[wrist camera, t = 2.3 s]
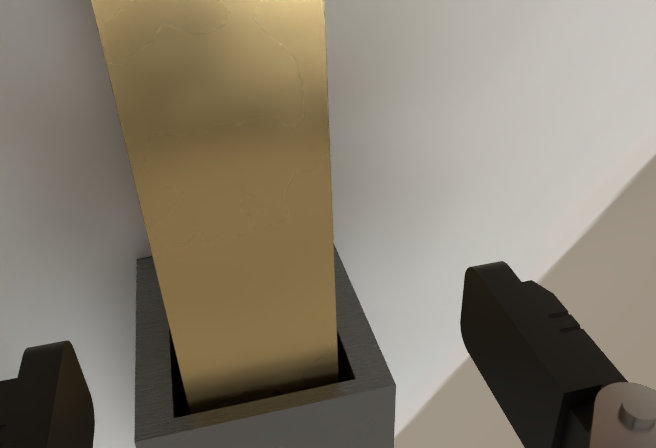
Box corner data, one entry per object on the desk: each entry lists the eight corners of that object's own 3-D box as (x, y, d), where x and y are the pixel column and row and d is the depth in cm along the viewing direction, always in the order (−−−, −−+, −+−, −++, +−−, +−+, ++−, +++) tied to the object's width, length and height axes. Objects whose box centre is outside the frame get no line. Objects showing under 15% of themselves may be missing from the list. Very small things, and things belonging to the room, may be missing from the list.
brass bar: (216, 467, 25) (228, 570, 22) (83, -130, 13) (64, -109, 10) (318, 444, 26) (344, 540, 23) (276, -141, 14) (319, -126, 11)
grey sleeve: (180, 430, 28) (192, 619, 21) (136, 259, 22) (134, 442, 16) (334, 396, 29) (389, 565, 23) (326, 227, 24) (395, 384, 17)
